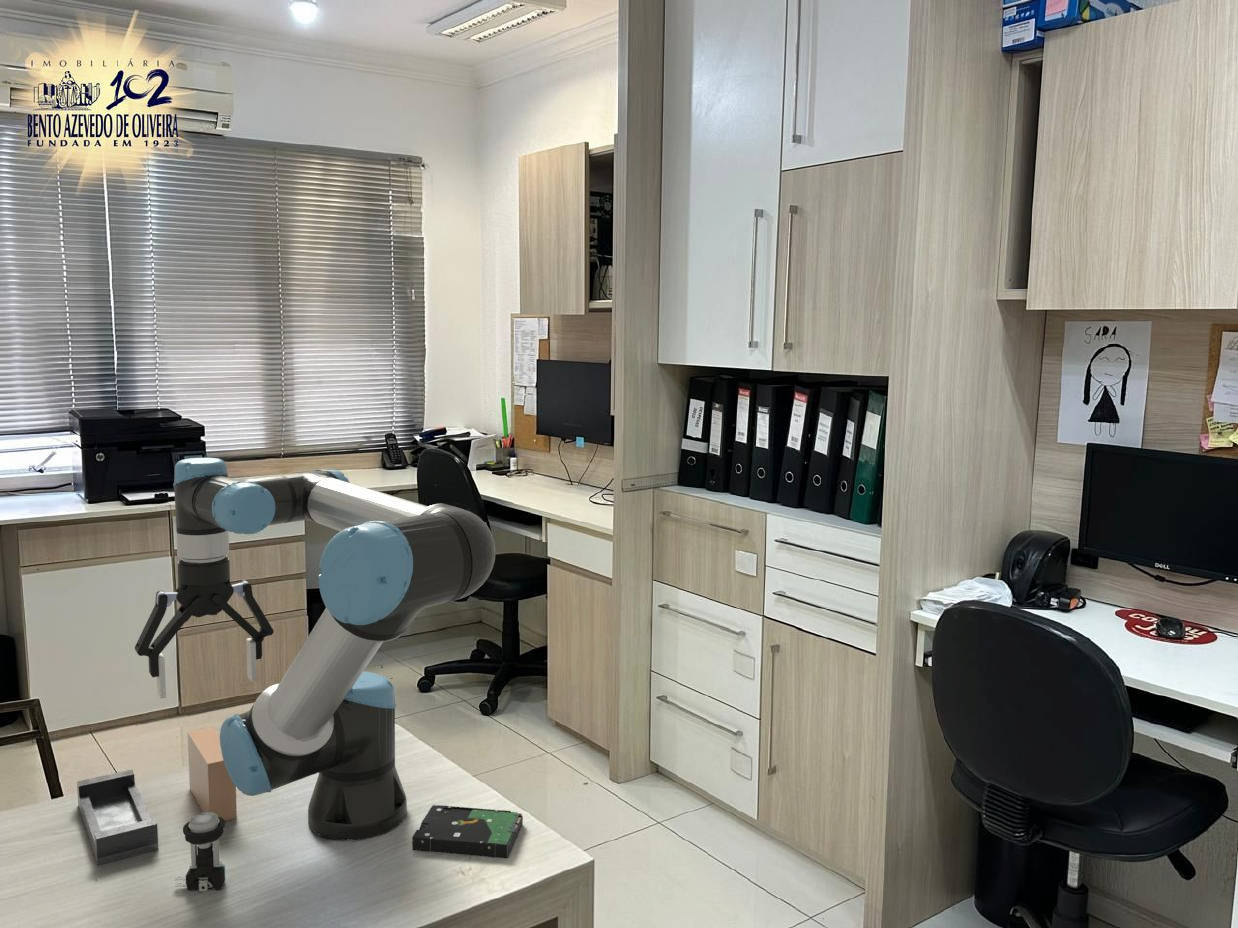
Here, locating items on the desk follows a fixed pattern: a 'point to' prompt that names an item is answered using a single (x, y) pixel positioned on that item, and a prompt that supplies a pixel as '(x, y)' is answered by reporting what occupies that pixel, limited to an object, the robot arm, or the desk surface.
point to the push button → (204, 853)
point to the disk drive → (468, 831)
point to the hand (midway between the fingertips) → (207, 687)
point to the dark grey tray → (116, 817)
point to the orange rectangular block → (210, 774)
